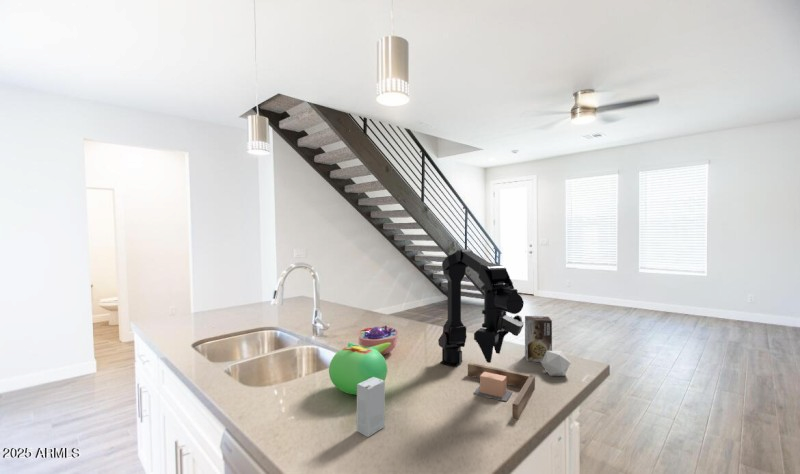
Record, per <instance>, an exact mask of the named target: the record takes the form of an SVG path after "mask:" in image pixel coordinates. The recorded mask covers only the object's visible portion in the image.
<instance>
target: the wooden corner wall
mask: <svg viewBox="0 0 800 474" xmlns="http://www.w3.org/2000/svg"><path fill="white" fill-rule="evenodd" d="M483 372H488V373H493V374H498V375H503V376H507V381H506V385H508V386H513V387H517V388H521V389H520V390H519V392H518V393H517V395H516V397H515V399H514V400H513V402H512V409H511V410H512V413H511V414H512V415H511V416H512V418H511V419H513V420H517V421H518V420H519V419H520V417H521V415H522V414H523V412H524V410H525V408H526V406H527V404H528V402H529V400H530V399H531V397H532V396H533V393H534V391H535V390H536V376H535V375H533V374H528V373H522V372H519V371H512V370H507V369H502V368H499V367H493V366H488V365H483V364H478V363H472V362H468V363H467V376H468V377H473V378H475V379H476V378H477V379H480V375H481V374H482V373H483Z"/></svg>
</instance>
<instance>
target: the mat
mask: <svg viewBox="0 0 800 474" xmlns="http://www.w3.org/2000/svg"><path fill="white" fill-rule="evenodd" d="M513 394H514V393H513V391H511V390H507V389H506V394H505V395H504V397H503V398H502V397H498V396H494V395H489V394H485V393H481V392H480V385H479V386H478V387H477V389H476V390H475V391H474V392H473V395H477V396H481V397H485V398H489V399H493V400H498V401H501V402H505V403H507V402H508V401H509V399H510V398H511V396H512V395H513Z"/></svg>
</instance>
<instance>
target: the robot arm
mask: <svg viewBox="0 0 800 474" xmlns="http://www.w3.org/2000/svg"><path fill="white" fill-rule="evenodd" d="M441 267H442V271H443V272H442V273H443V276H444V277H445V279H446V281H447V319H446V322H445V323H444V324H443V327H442V333H441V335H440V336H439V338H438V346H439V347H440V348H442V349H441V351H442V352H441V353H442V354H441V356H442V357H441V361H440V362H439V363H440V364H442V365H447V366H451V367H458V366H460V365H461V364H462V362H463V351H462V348H464V347H465V345H466V343H467V342H466V341H467V337H468V336H467V327H466V326H465V325H464V323H463V322H462V281H463V279H464V277H465V276H466V272H467V271H466V270H467V268H470V269H471V270H473V271H474V272H475V273H477V274H478V279H479V280H480V281H481V282H482V283H483V285H482V286H481V287H480V290H481V291H483V292H484V293H483V297H484V299H483V300H484V301H483V302H484V303H483V308H484V309H482V310H481V313H482V314H481V315H483V316H484V317H483V323H482V324H481V328H480V327H479V329H478V330H476V331H475V332H474V333H473V340H474V341H475V342H476V343H477V344H478V346H479V348H480V350H481V352H482V354H483V357H484V359H485V361H486V363H488V364H490V363H491V362H492V359H493V358H492V356H493V351H495V353H496V354H497V355H500V353H501V351H502V347H503V342H504V338H505V336H506V335H508V334H509V333H510V334H512V335H513V336H515V337H516V336H517V337H518V336H519V334H521V332H522V329H523V327H524V326H525V321H523V318H522V316H521V315H518V314H519V313H520V312H521V311H522V310H523V308H524V299H523V297H522V295H520V294H519V293H518V289H516V288H515V287H514V285H513V284H514V283H513V281H512V279H511V278H510V274H509V272H508V271H507V270H508V269H507V268H506V266H504V265H501V264H498V263H495V262H489V261H487V260H485V259H484V258H483V257H481V256H479V255H478V254H476V253H474V252H473V251H472V249H468V248H466V249H465V248H464V249H463V248H462V249H461V248H460V249H457V250H456V251H455V252H454V253H452V254H450V255H448V256H446V257H445V258H444V259H443V261H442V263H441ZM507 313H509V314H512V315H514V316H510V315H507Z"/></svg>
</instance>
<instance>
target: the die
mask: <svg viewBox="0 0 800 474" xmlns="http://www.w3.org/2000/svg"><path fill="white" fill-rule="evenodd" d="M540 364H541V366H543V368H544V370H545V371H546V372H547V374H548V375H549V376H550V377H553V376H554V377H563V376H566V374H567V372H568V369H570V368H569V367H570V365H571V361H570V360H569V359H568V358H567V356H566V355H565V353H563V351H562V350H552V351H546V353H545V356H544V358H543V360H542V362H540Z"/></svg>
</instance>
